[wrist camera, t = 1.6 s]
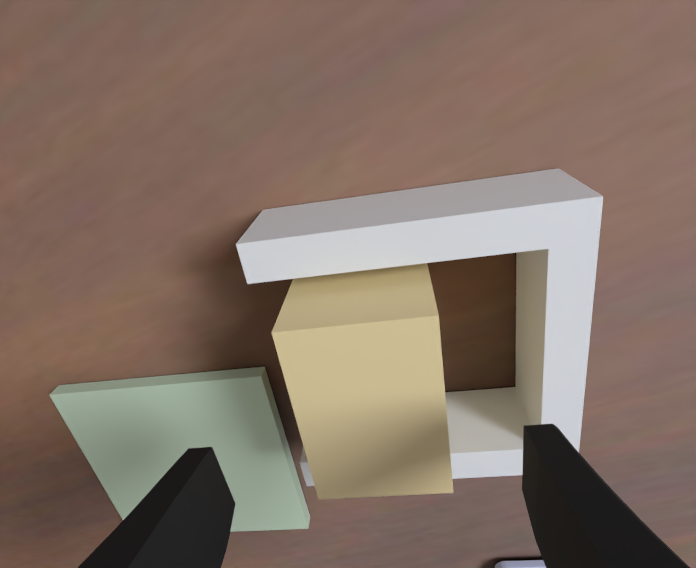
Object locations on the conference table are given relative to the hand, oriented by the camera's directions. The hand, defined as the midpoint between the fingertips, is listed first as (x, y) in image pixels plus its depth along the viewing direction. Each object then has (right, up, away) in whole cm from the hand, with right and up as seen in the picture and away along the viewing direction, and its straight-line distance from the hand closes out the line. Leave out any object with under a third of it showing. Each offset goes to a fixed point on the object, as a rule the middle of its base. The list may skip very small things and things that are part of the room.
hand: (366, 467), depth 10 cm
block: (0, +3, +6) cm, 7 cm away
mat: (-7, -3, +10) cm, 13 cm away
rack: (+2, +3, +6) cm, 7 cm away
